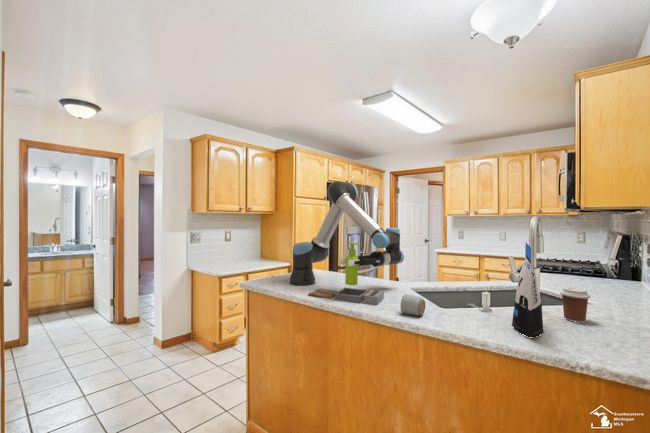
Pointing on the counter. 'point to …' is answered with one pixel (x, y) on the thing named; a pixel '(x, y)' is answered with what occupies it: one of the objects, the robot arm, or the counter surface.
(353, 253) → the soap dispenser
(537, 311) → the protein powder
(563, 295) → the coffee cup
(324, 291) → the walnut pad
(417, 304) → the ceramic mug
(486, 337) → the counter surface
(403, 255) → the robot arm
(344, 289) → the tray
